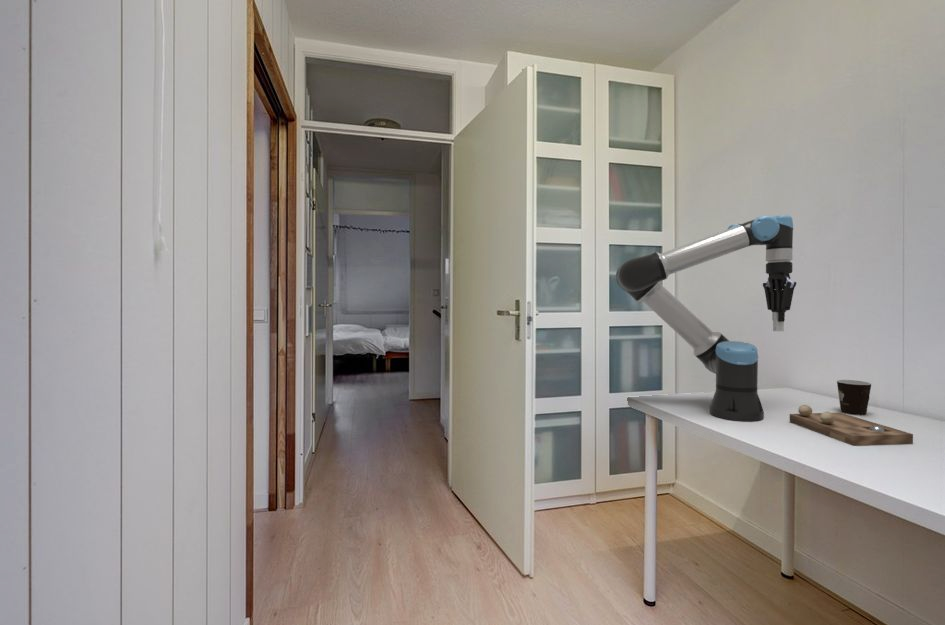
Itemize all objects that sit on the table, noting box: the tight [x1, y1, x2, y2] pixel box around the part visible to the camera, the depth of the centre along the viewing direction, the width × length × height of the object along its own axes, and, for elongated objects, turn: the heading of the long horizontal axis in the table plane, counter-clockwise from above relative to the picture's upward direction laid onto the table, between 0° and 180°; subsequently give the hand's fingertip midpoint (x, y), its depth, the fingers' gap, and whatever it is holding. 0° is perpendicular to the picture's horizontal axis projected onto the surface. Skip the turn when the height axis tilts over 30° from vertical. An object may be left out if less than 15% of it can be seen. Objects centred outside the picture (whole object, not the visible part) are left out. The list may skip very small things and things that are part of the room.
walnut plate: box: [789, 411, 914, 446], centre depth 128 cm, size 16×22×2 cm
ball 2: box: [820, 411, 835, 424], centre depth 127 cm, size 3×3×3 cm
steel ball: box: [869, 426, 885, 432], centre depth 122 cm, size 3×3×3 cm
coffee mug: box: [836, 379, 872, 416], centre depth 146 cm, size 12×9×10 cm
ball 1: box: [797, 404, 813, 416], centre depth 135 cm, size 3×3×3 cm
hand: (778, 331), depth 155 cm, fingers closed
